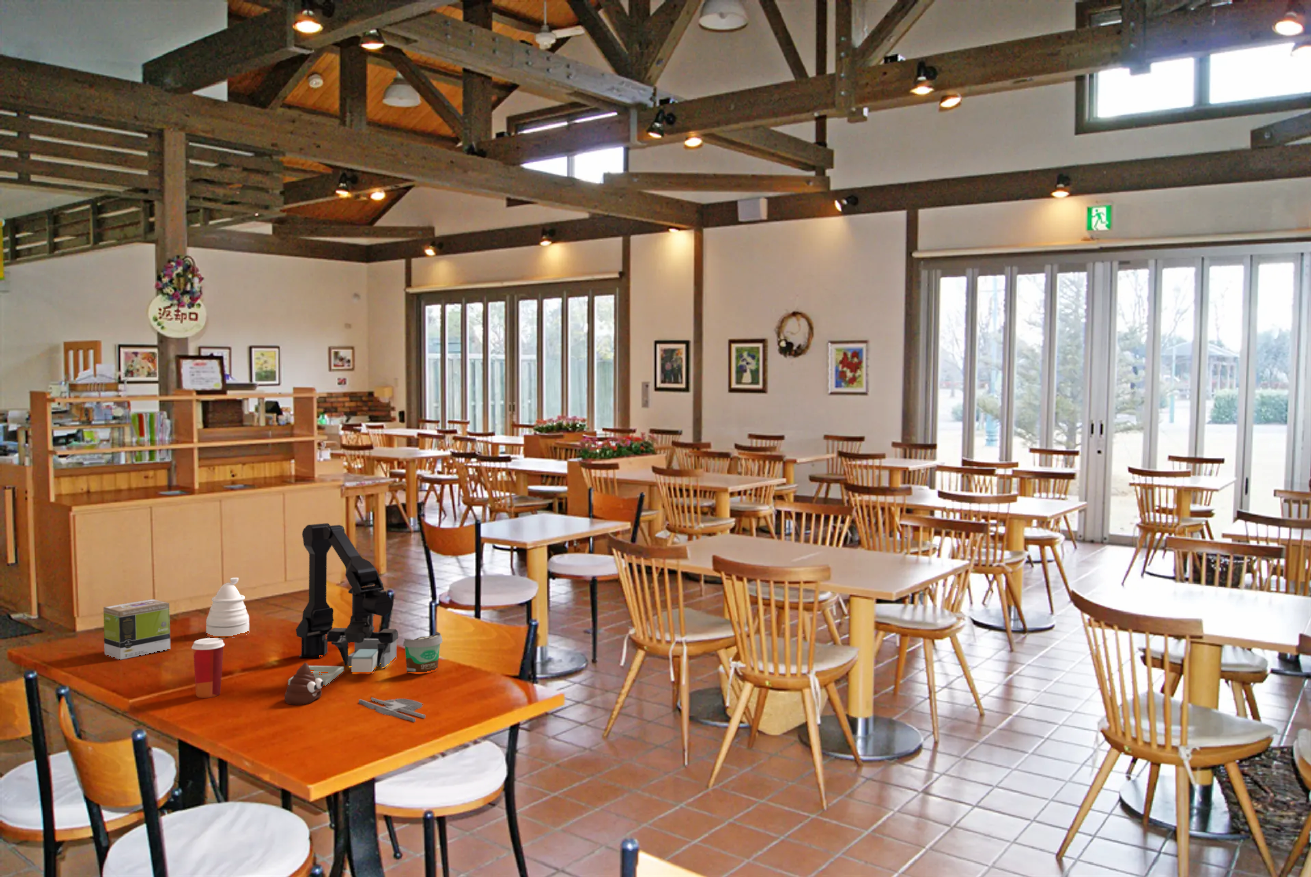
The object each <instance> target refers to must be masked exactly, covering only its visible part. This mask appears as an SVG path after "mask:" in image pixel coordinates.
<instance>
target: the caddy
mask: <svg viewBox="0 0 1311 877" xmlns="http://www.w3.org/2000/svg"><path fill="white" fill-rule="evenodd" d="M377 657H378V649H359V650H358V651H357V652H356V653H355V654H354V656H353V657H352V667H351V668H350V669H351V671H350V672H372V671H373V670H374V668H375V667H376V666H377ZM377 667H378V666H377ZM374 671H375V670H374Z"/></svg>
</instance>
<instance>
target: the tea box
mask: <svg viewBox="0 0 1311 877" xmlns="http://www.w3.org/2000/svg"><path fill="white" fill-rule="evenodd" d="M170 614H171V612H170V602H166V601H161V600H158V599H154V598H150V599H145V600H139V601H132V602H126V603H121V604H114V605H108V606H104V607H103V643H104V644H103V645H104V646H103V647H104V648H103V649H104V655H105V656H107V655H109V656H108V657H110V656H111V657H110V658H113V657H115V658H114V659H116V660H119V659H120V661H121V660H127V659H130V658H131V659H132V658H136V657H140V656H139V655H141V656H145V654H146V655H149V653H151V654H154V652H155V653H158V652H157V651H160V652H164V651H163V650H165V651H168V650H167V649H170V650H171V624H170V622H171V621H170V620H171V616H170Z"/></svg>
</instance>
